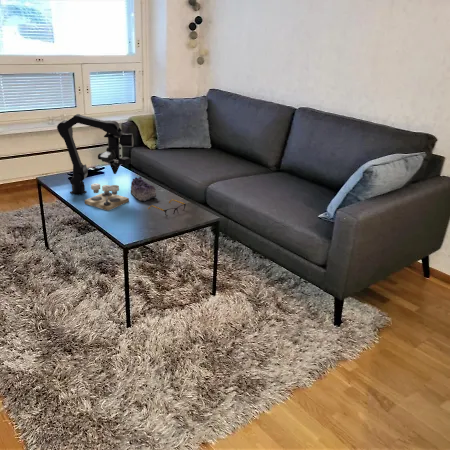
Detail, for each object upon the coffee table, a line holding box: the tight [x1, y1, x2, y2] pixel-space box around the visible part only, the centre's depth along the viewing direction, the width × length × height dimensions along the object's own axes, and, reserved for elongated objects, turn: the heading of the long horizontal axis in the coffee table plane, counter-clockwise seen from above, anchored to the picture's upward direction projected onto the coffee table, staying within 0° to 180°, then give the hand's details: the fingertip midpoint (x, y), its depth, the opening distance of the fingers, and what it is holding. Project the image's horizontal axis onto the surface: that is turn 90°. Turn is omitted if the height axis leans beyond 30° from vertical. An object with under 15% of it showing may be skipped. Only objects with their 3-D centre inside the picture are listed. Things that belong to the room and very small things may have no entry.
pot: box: [104, 197, 111, 206], centre depth 233 cm, size 2×2×4 cm
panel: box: [84, 191, 130, 211], centre depth 241 cm, size 16×16×2 cm
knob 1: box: [90, 183, 101, 194], centre depth 238 cm, size 5×5×4 cm
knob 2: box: [101, 184, 111, 194], centre depth 246 cm, size 5×5×4 cm
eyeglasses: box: [147, 199, 187, 217], centre depth 237 cm, size 14×14×4 cm
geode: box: [130, 176, 157, 202], centre depth 252 cm, size 20×12×10 cm, turn 36°
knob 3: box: [109, 184, 120, 195], centre depth 237 cm, size 5×5×4 cm
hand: (114, 173), depth 248 cm, fingers closed
